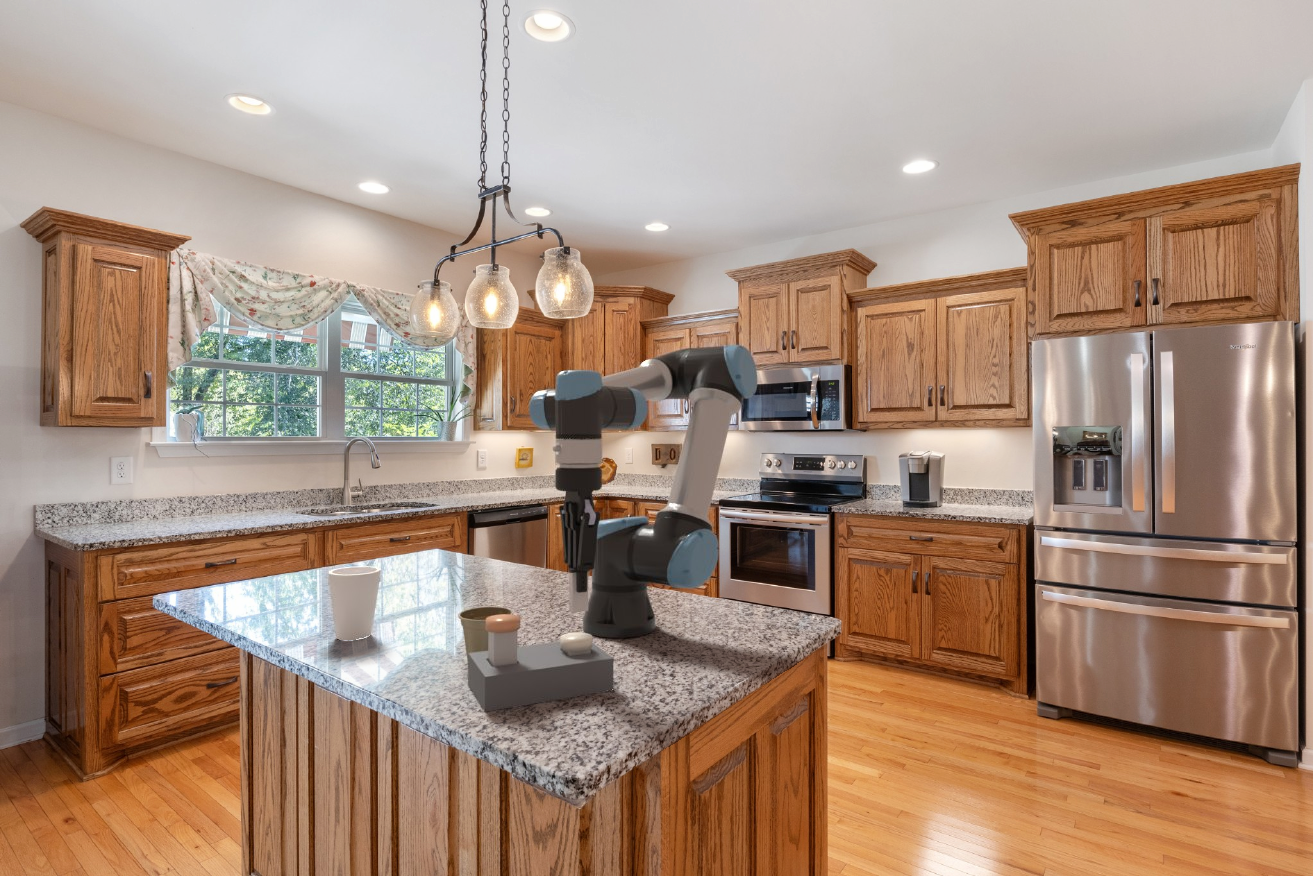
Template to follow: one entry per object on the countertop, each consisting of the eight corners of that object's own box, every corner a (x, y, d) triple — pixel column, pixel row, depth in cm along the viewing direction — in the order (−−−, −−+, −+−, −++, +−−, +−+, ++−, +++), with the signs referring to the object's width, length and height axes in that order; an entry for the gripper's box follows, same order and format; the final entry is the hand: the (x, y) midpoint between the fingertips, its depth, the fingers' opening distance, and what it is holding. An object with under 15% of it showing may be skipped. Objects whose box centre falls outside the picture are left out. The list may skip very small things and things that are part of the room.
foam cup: (338, 630, 137) (339, 566, 137) (385, 629, 138) (386, 566, 138) (319, 644, 128) (320, 575, 128) (369, 643, 128) (370, 575, 128)
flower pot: (484, 674, 112) (485, 622, 112) (445, 664, 117) (446, 614, 117) (523, 659, 120) (524, 611, 120) (486, 650, 125) (486, 604, 125)
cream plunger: (585, 672, 113) (585, 630, 113) (596, 682, 108) (597, 639, 108) (555, 676, 110) (556, 634, 110) (565, 687, 106) (566, 643, 106)
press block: (585, 667, 116) (586, 638, 116) (613, 690, 106) (613, 658, 106) (467, 684, 107) (468, 653, 107) (484, 711, 97) (485, 676, 97)
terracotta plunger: (514, 656, 107) (515, 612, 107) (523, 666, 103) (524, 620, 103) (481, 660, 105) (482, 616, 105) (489, 671, 100) (490, 624, 100)
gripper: (544, 464, 114) (544, 604, 114) (570, 468, 102) (570, 623, 102) (586, 463, 117) (586, 599, 117) (615, 467, 105) (615, 617, 105)
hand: (578, 610), depth 110 cm, fingers closed
